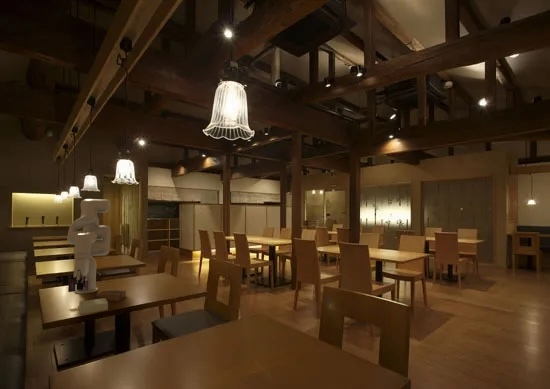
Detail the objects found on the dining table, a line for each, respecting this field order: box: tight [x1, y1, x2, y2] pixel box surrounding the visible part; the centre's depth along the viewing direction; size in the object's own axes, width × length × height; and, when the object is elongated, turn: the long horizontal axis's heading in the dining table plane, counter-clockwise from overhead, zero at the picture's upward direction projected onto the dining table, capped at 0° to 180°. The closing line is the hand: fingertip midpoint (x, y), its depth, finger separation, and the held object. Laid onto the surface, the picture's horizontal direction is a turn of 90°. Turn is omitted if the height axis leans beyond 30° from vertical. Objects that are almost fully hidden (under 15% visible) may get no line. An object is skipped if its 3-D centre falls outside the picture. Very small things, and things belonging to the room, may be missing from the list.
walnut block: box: [95, 289, 127, 302], centre depth 180 cm, size 10×12×4 cm
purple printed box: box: [67, 278, 88, 293], centre depth 171 cm, size 7×5×9 cm
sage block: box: [78, 298, 109, 315], centre depth 161 cm, size 10×12×4 cm
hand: (81, 288), depth 171 cm, fingers closed on purple printed box, 4 cm apart
